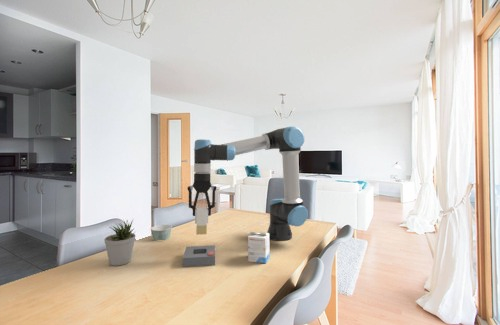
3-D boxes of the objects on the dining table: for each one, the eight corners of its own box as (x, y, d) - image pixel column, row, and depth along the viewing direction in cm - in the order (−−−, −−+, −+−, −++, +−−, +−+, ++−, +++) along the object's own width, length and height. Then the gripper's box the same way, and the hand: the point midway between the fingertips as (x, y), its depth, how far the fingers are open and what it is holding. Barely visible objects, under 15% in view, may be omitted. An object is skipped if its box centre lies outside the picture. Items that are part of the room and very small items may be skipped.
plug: (206, 231, 118) (206, 206, 118) (206, 234, 114) (206, 208, 114) (196, 231, 118) (197, 206, 118) (196, 234, 113) (196, 208, 113)
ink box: (270, 256, 120) (270, 229, 120) (265, 263, 112) (265, 234, 112) (253, 254, 123) (253, 227, 122) (247, 261, 115) (247, 232, 114)
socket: (214, 253, 124) (214, 244, 124) (215, 265, 110) (215, 254, 110) (186, 254, 122) (186, 245, 122) (182, 267, 108) (182, 256, 108)
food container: (155, 243, 139) (155, 231, 139) (147, 238, 148) (147, 227, 148) (175, 238, 147) (175, 227, 147) (167, 234, 156) (167, 223, 156)
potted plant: (103, 271, 104) (103, 224, 104) (105, 259, 116) (105, 217, 116) (136, 265, 110) (136, 220, 110) (134, 255, 122) (134, 214, 122)
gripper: (220, 172, 121) (220, 220, 121) (183, 172, 118) (183, 221, 119) (221, 173, 114) (220, 224, 114) (182, 173, 111) (181, 225, 111)
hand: (201, 222), depth 116 cm, fingers closed on plug, 4 cm apart
